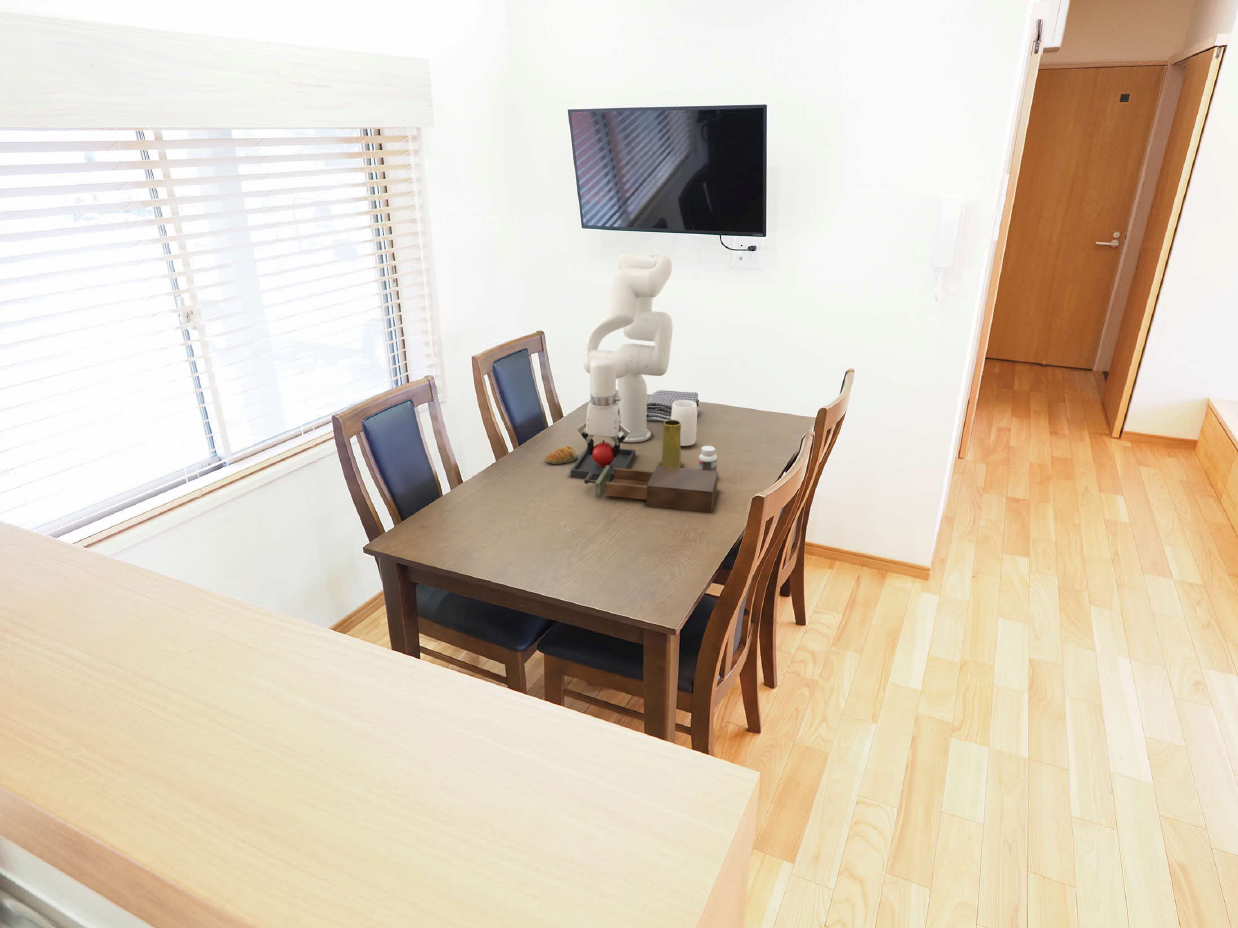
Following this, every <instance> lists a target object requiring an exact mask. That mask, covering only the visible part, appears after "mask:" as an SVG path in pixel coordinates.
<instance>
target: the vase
mask: <svg viewBox="0 0 1238 928" xmlns="http://www.w3.org/2000/svg"><path fill="white" fill-rule="evenodd" d="M662 425H663V426H662V427H663V428H662V451H661V463H660V466H663V467H675V468H682V455H681V454H682V453H681V452H682V451H681V445H680V435H681V422H680V421H678V420H666V421H663V424H662Z"/></svg>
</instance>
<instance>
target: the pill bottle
mask: <svg viewBox="0 0 1238 928" xmlns="http://www.w3.org/2000/svg"><path fill="white" fill-rule="evenodd" d="M700 452H701V453H700V454H699V455H698V467H697V470H709V471H718V469H717V467H718V456H717V454H716V447H714V446H712V445H704V446H701V451H700Z"/></svg>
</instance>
